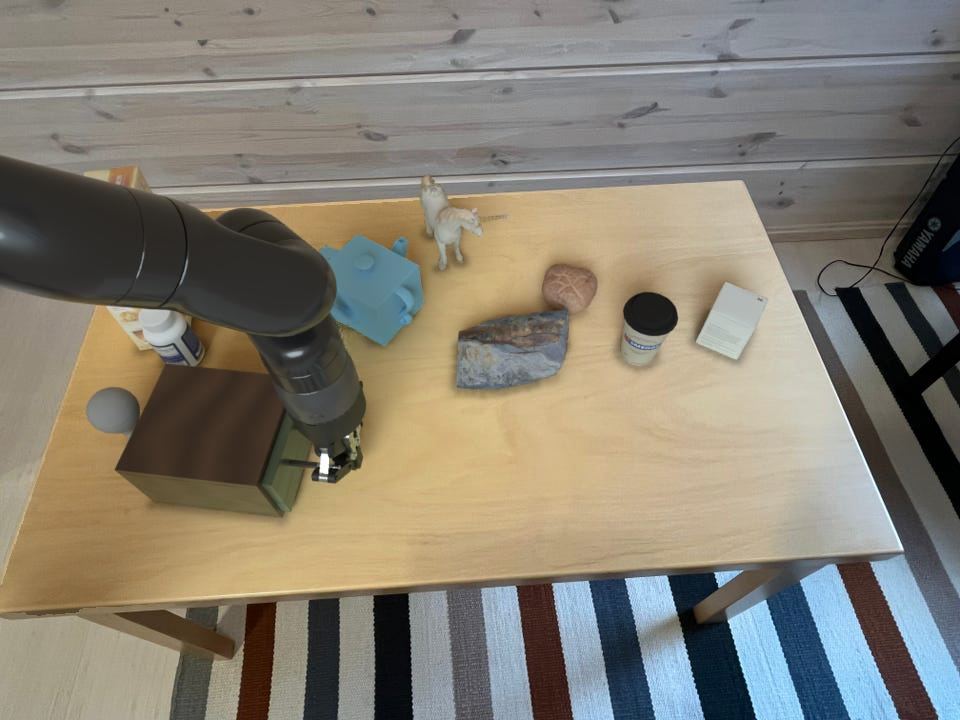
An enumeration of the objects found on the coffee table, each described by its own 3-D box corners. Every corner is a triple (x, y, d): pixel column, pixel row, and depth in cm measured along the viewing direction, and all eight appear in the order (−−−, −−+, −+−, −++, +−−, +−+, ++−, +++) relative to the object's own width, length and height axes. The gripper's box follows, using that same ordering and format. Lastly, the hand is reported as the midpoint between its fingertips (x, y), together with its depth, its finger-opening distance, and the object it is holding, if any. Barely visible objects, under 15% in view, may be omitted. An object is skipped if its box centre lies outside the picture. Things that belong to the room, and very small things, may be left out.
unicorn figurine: (467, 304, 91) (464, 238, 80) (397, 228, 100) (386, 160, 89) (506, 281, 93) (509, 215, 82) (434, 210, 102) (428, 141, 91)
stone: (458, 393, 80) (445, 320, 83) (458, 400, 85) (446, 332, 87) (586, 370, 81) (569, 300, 84) (579, 379, 86) (563, 312, 89)
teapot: (452, 299, 92) (448, 245, 82) (375, 386, 83) (360, 336, 74) (370, 255, 97) (357, 200, 87) (289, 333, 88) (265, 281, 79)
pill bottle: (190, 334, 89) (160, 290, 80) (213, 354, 87) (185, 311, 78) (157, 358, 86) (123, 315, 78) (180, 379, 84) (148, 337, 76)
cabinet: (313, 416, 81) (293, 376, 73) (281, 518, 73) (256, 486, 65) (197, 404, 82) (165, 363, 74) (154, 503, 75) (114, 469, 66)
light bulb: (170, 421, 81) (134, 381, 72) (152, 459, 78) (112, 422, 69) (131, 416, 81) (90, 375, 73) (111, 454, 78) (67, 415, 70)
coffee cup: (622, 325, 89) (636, 278, 80) (669, 343, 87) (688, 297, 78) (604, 360, 85) (616, 316, 77) (652, 380, 83) (670, 337, 75)
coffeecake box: (190, 344, 88) (123, 246, 71) (138, 352, 87) (58, 255, 71) (198, 266, 96) (139, 163, 80) (150, 273, 95) (81, 170, 79)
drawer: (359, 421, 79) (348, 390, 73) (335, 516, 72) (319, 491, 66) (210, 406, 81) (186, 373, 74) (172, 497, 74) (141, 470, 67)
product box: (709, 313, 90) (725, 279, 84) (751, 331, 88) (770, 297, 82) (694, 342, 87) (709, 310, 81) (736, 361, 85) (755, 329, 79)
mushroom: (544, 268, 95) (529, 295, 89) (568, 242, 91) (554, 269, 85) (582, 298, 96) (569, 327, 90) (607, 274, 92) (596, 303, 86)
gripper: (301, 329, 64) (337, 411, 78) (260, 444, 56) (307, 512, 71) (373, 335, 63) (395, 417, 77) (340, 453, 56) (372, 519, 70)
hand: (353, 462), depth 74 cm, fingers closed
